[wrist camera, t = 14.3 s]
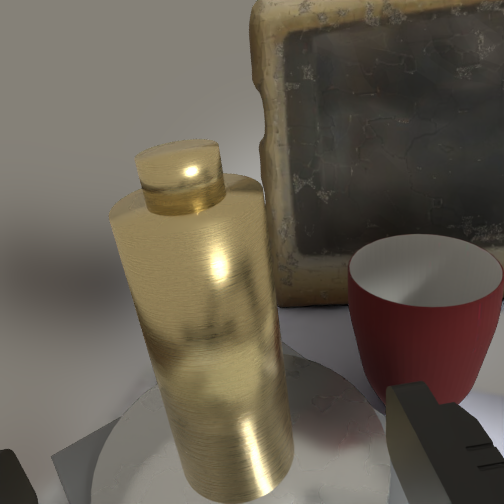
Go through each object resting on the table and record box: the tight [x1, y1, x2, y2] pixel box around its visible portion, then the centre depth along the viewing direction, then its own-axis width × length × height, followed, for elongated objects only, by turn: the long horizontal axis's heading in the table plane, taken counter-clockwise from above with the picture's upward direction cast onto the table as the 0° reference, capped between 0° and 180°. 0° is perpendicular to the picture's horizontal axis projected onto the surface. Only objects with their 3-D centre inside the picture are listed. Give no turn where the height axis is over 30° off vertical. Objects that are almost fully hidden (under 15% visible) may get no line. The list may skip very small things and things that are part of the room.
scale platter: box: [91, 354, 391, 504], centre depth 21 cm, size 13×13×1 cm
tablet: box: [249, 0, 504, 308], centre depth 37 cm, size 33×14×25 cm, turn 88°
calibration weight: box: [109, 139, 294, 504], centre depth 17 cm, size 5×5×14 cm
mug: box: [348, 234, 504, 405], centre depth 29 cm, size 10×8×10 cm
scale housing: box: [51, 341, 409, 504], centre depth 23 cm, size 14×15×5 cm
